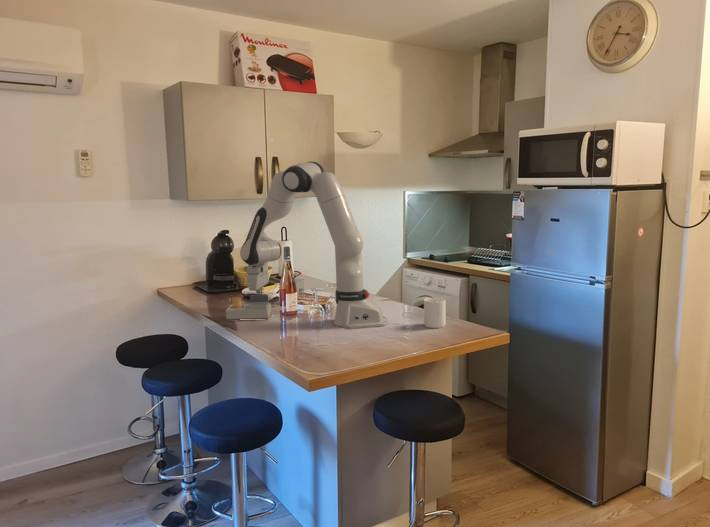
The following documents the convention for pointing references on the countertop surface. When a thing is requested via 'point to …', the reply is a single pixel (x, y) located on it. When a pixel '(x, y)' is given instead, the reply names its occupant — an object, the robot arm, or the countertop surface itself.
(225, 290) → the countertop surface
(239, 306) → the tan upright cylinder
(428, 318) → the mug
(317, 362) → the countertop surface
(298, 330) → the countertop surface
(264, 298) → the cover
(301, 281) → the ink box
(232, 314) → the housing
